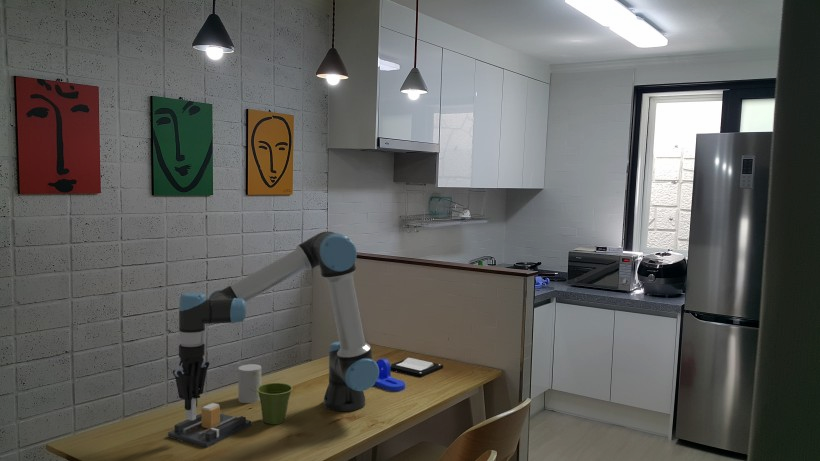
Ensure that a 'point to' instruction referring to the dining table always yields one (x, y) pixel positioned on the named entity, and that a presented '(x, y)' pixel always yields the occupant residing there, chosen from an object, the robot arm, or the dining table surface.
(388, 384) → the bracket
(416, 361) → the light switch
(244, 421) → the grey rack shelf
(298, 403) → the dining table surface
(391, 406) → the dining table surface
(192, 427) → the panel
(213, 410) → the orange white block
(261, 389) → the plant pot
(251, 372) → the white cylinder
